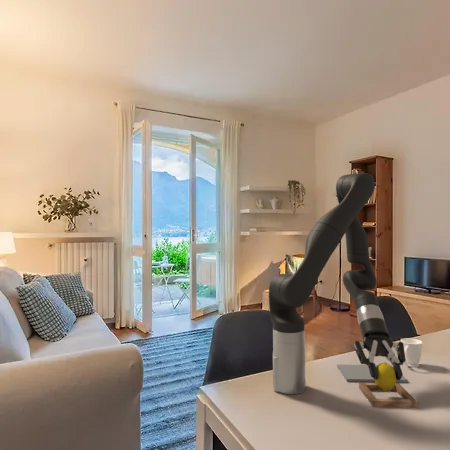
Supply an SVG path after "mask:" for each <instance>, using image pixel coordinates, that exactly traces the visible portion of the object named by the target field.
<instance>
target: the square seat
mask: <svg viewBox="0 0 450 450" xmlns="http://www.w3.org/2000/svg"><path fill="white" fill-rule="evenodd" d="M358 388H359V390H360V391H361V393H362V394H363V396H364V397H365V398H366V400H367V399H368V400H367V401H368V402H369V404H370V405H371V407H373V408H376V407H377V408H378V407H379V408H411V409H413V408H417V409H418V408H419V407H418V405H419V403H418V401H417V400H416V399H415V397H413V395H411V394H410V392H408V391H407V390H406V389H405V388H404V387H403V385H401V384H400V382H396V383H395V386H394V387H393V388H392V389H390V390H387V391H386V392H388V391H389V392H391V391H393V392H394V391H395V392H396V393H397V394H398V395H399V396H400V397H401V398H382V397H381V398H376V396H375V395H374V394H373V392H372V391H384V390H383V389H381V388H380V387H379V386H378V385H377V384H376V382H358Z"/></svg>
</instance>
